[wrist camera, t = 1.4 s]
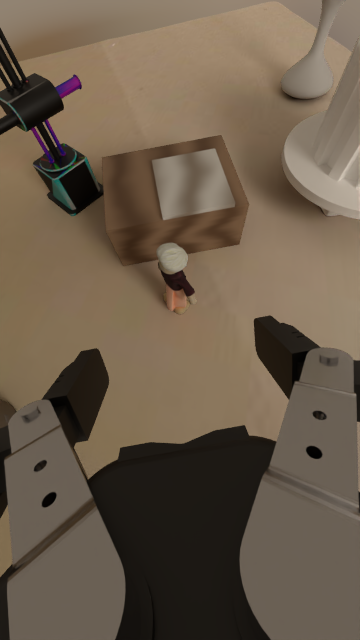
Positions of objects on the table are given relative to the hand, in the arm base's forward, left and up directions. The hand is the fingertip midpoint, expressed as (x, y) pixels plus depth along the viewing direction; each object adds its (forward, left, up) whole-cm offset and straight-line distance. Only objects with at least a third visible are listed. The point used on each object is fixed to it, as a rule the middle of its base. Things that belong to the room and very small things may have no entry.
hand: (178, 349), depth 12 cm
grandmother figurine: (0, +13, -20) cm, 24 cm away
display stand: (+2, +30, -20) cm, 36 cm away
